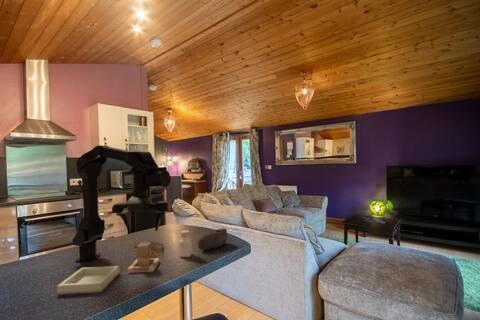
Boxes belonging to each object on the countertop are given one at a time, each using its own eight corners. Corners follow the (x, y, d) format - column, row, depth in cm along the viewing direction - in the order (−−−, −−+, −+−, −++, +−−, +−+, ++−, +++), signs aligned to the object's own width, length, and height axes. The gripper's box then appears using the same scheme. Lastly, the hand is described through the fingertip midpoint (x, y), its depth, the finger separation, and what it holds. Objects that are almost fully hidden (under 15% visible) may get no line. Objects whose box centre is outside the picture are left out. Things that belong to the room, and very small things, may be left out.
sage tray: (82, 275, 83) (81, 267, 83) (119, 273, 83) (118, 265, 83) (57, 294, 71) (57, 285, 71) (101, 292, 71) (100, 283, 71)
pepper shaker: (182, 253, 99) (182, 229, 99) (192, 253, 99) (191, 229, 99) (179, 257, 95) (178, 232, 96) (189, 257, 95) (188, 232, 95)
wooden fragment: (131, 244, 113) (131, 242, 113) (156, 239, 119) (156, 237, 119) (144, 263, 92) (144, 260, 92) (173, 256, 98) (173, 253, 98)
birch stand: (136, 263, 91) (136, 258, 91) (159, 261, 92) (159, 257, 92) (128, 272, 83) (128, 268, 83) (152, 271, 84) (152, 267, 84)
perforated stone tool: (201, 254, 99) (201, 236, 99) (194, 250, 103) (194, 233, 103) (231, 244, 109) (230, 229, 109) (223, 242, 112) (223, 226, 113)
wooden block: (141, 265, 89) (140, 243, 89) (151, 264, 89) (150, 242, 90) (137, 269, 86) (136, 246, 86) (148, 269, 86) (147, 246, 86)
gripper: (103, 190, 79) (104, 239, 79) (162, 188, 80) (164, 237, 80) (118, 186, 90) (119, 230, 90) (170, 185, 91) (172, 227, 91)
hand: (143, 231), depth 88 cm, fingers open, 9 cm apart
